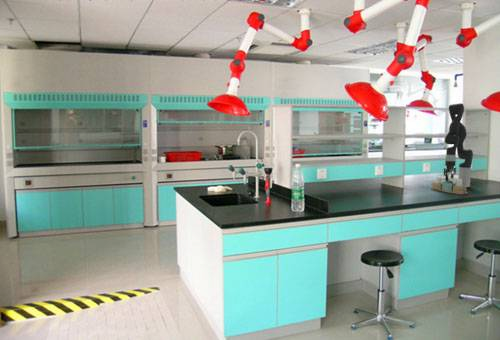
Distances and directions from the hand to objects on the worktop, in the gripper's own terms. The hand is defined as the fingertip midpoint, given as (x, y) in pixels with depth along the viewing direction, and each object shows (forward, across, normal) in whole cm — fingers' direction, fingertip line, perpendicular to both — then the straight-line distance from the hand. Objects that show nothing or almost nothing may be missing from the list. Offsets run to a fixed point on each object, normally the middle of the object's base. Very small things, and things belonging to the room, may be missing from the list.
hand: (449, 180), depth 349 cm
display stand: (+9, 0, 0) cm, 9 cm away
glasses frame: (+3, 0, 0) cm, 3 cm away
